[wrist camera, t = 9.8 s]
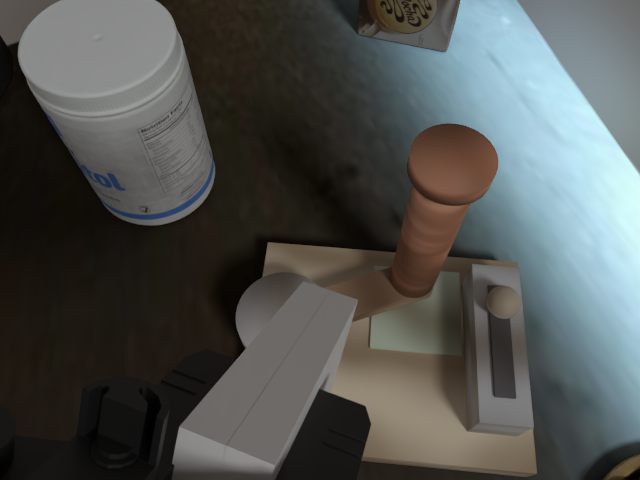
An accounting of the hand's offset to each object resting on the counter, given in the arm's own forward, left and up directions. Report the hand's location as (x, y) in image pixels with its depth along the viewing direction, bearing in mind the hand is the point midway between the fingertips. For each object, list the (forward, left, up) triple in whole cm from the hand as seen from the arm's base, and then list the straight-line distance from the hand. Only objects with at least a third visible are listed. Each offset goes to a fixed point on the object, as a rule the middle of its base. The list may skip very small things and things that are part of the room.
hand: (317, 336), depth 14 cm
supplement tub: (-20, -15, -23) cm, 34 cm away
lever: (-9, +1, -21) cm, 23 cm away
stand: (-7, +4, -23) cm, 24 cm away
